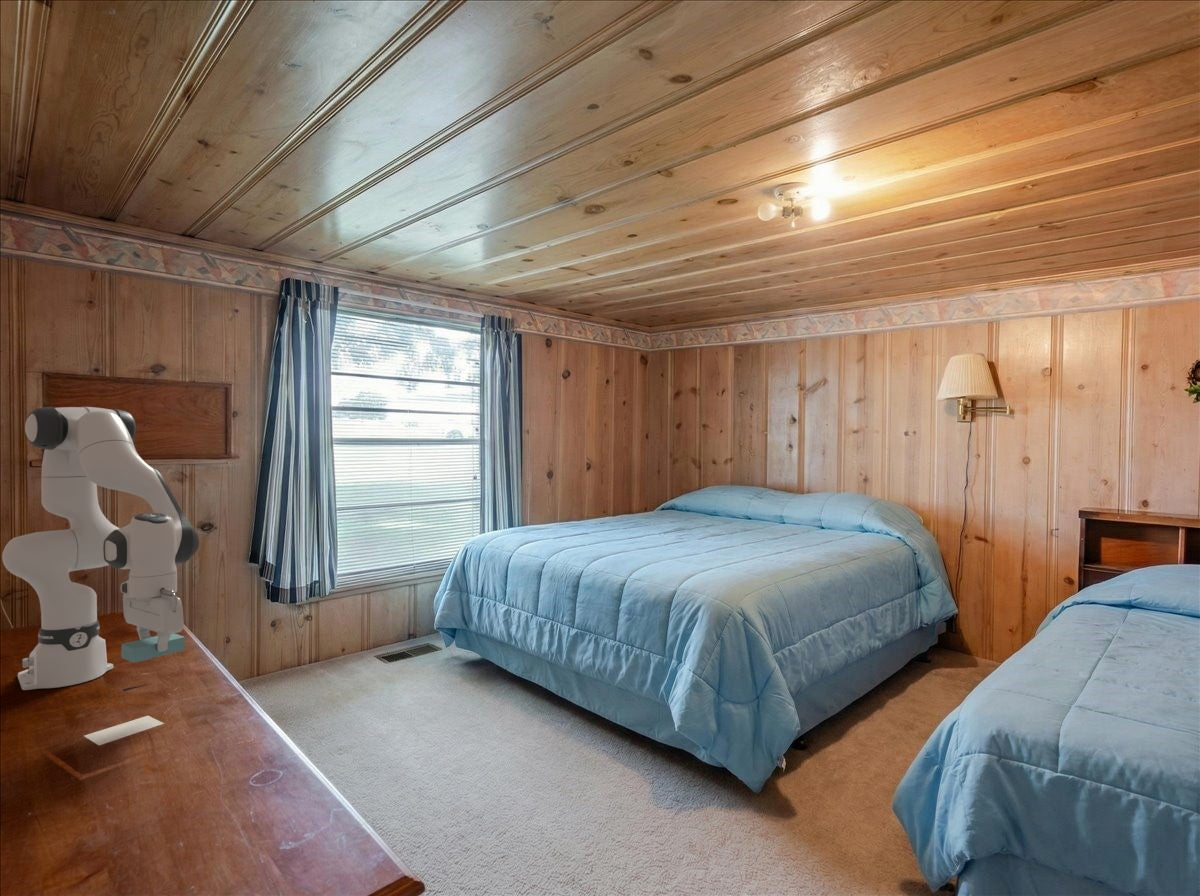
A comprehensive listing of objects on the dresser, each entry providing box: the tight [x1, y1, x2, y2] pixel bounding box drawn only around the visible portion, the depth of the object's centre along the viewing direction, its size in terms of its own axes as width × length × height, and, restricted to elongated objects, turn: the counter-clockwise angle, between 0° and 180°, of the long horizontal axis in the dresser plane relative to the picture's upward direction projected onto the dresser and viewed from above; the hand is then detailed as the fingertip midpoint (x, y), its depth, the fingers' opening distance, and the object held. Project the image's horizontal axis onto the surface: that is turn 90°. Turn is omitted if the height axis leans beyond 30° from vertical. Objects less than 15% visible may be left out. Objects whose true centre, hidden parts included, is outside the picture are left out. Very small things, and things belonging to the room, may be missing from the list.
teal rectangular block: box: [120, 633, 186, 664], centre depth 140 cm, size 10×6×3 cm, turn 148°
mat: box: [83, 715, 165, 746], centre depth 136 cm, size 17×18×1 cm
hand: (153, 648), depth 140 cm, fingers closed on teal rectangular block, 6 cm apart
